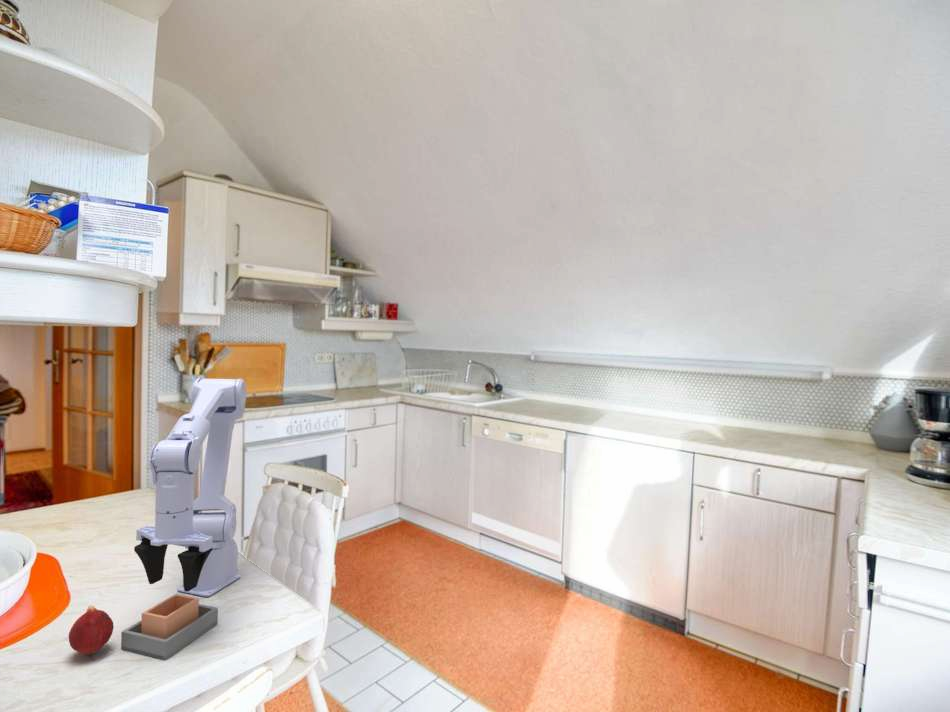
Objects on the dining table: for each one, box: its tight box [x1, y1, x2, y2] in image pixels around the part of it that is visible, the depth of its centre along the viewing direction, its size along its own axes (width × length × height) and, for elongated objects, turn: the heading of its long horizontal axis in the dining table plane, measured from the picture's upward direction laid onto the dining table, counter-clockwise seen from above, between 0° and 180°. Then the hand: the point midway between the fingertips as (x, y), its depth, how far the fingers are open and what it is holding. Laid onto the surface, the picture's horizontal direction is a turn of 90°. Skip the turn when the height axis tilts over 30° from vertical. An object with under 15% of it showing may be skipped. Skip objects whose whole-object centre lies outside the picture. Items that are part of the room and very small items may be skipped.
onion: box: [67, 605, 115, 656], centre depth 82 cm, size 6×6×8 cm
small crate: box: [141, 593, 200, 639], centre depth 88 cm, size 7×5×5 cm
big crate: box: [120, 603, 219, 661], centre depth 88 cm, size 11×9×3 cm
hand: (173, 585), depth 88 cm, fingers open, 7 cm apart
